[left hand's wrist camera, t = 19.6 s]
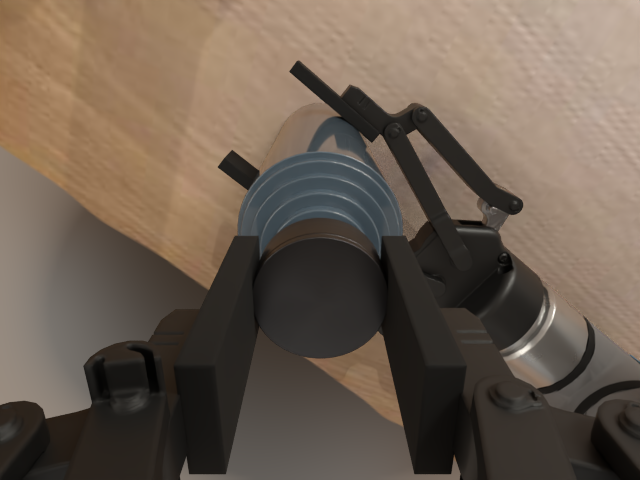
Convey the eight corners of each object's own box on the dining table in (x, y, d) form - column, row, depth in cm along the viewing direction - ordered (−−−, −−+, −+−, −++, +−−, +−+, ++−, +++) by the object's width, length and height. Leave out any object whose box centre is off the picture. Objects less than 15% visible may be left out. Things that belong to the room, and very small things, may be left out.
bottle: (292, 196, 37) (252, 398, 15) (267, 116, 35) (176, 219, 13) (370, 174, 37) (446, 353, 15) (350, 92, 34) (404, 156, 12)
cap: (244, 230, 14) (235, 252, 13) (371, 205, 14) (377, 224, 12) (274, 336, 16) (269, 368, 14) (390, 316, 15) (398, 346, 14)
